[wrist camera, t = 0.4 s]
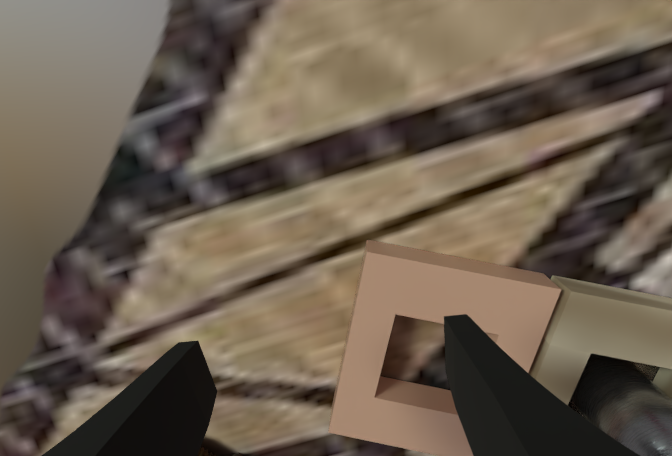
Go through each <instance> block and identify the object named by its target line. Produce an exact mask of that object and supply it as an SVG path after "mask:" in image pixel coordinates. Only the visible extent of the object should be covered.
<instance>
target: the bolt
mask: <svg viewBox="0 0 672 456" xmlns="http://www.w3.org/2000/svg"><path fill="white" fill-rule="evenodd" d="M197 456H212V452H210V453H209V454H208V450H206V451H204V447H202V448H200V450H199V452H198V455H197ZM213 456H216V455H213ZM232 456H243V455H241V454H240V453H238V454H235V455H232Z"/></svg>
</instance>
